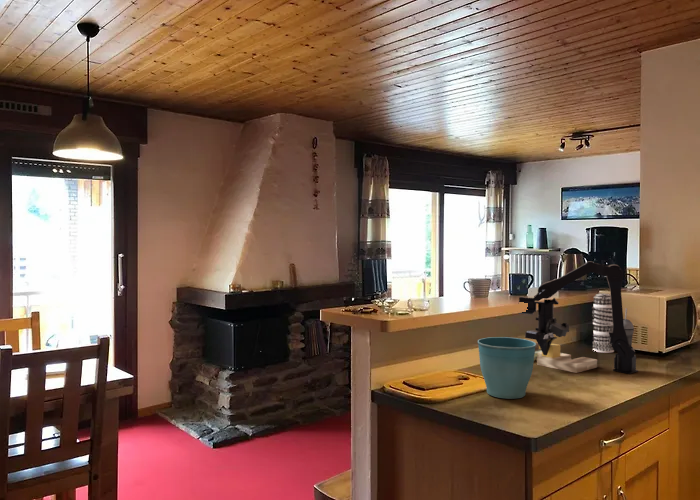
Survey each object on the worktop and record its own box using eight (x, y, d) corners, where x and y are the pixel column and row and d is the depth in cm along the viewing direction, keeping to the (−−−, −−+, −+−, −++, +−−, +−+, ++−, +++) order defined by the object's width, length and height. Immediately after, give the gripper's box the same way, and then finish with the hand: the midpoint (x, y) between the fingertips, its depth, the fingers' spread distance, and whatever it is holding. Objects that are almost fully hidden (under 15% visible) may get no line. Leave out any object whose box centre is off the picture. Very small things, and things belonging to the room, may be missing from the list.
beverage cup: (610, 355, 237) (610, 307, 237) (622, 353, 241) (623, 306, 240) (625, 358, 231) (625, 309, 230) (638, 356, 234) (638, 308, 233)
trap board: (597, 367, 216) (597, 353, 216) (576, 372, 208) (576, 358, 207) (536, 355, 238) (536, 342, 237) (515, 360, 229) (515, 346, 229)
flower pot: (525, 386, 189) (525, 336, 189) (544, 402, 171) (544, 347, 171) (472, 387, 189) (472, 337, 189) (485, 403, 171) (485, 347, 171)
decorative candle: (602, 353, 240) (602, 295, 240) (587, 349, 249) (587, 293, 249) (619, 352, 243) (619, 294, 243) (603, 348, 252) (603, 292, 252)
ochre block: (560, 356, 222) (560, 344, 222) (553, 357, 219) (553, 346, 219) (549, 354, 226) (549, 343, 226) (541, 355, 223) (541, 344, 223)
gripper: (549, 319, 207) (549, 361, 207) (578, 315, 218) (577, 355, 219) (524, 316, 216) (524, 356, 216) (552, 312, 227) (552, 350, 228)
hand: (545, 355), depth 219 cm, fingers closed
